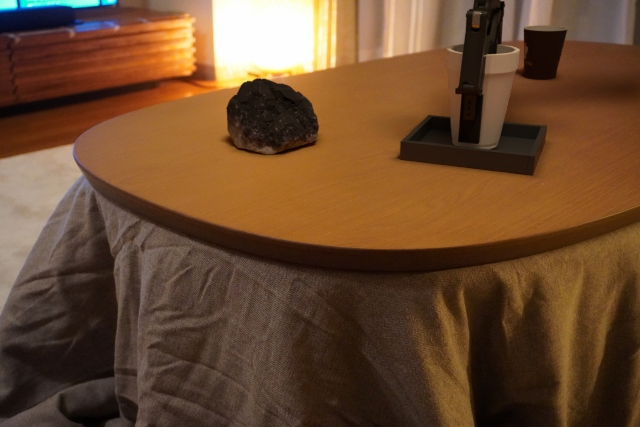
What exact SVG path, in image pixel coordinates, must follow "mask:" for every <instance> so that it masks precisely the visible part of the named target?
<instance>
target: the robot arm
mask: <svg viewBox="0 0 640 427" xmlns="http://www.w3.org/2000/svg"><path fill="white" fill-rule="evenodd" d="M472 5H473V6H472V8H469V9H468V10H467V11H466V13H465V31H464V40H463V44H464V47H463V55H462V64H461V72H460V80H459V86H458V88H455V94H461V108H460V121H459V135H458V142H463V143H472V144H479V142H480V130H481V119H482V108H483V96H484V94H482V92H483V89H482V88H483V82H484V76H485V64H486V56H485V57H484V55H487V54H497V45H498V44H500V45H503V44H502V43H503V42H502V40H503V27H504V26H503V25H504V17H505V8H506V1H505V0H473V4H472ZM468 82H473V83H475V84H470V83H468Z"/></svg>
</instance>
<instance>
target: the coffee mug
mask: <svg viewBox="0 0 640 427" xmlns="http://www.w3.org/2000/svg"><path fill="white" fill-rule="evenodd" d="M567 33H568V27H566V26H560V25H547V24H546V25H545V24H544V25H543V24H542V25H541V24H540V25H527V26H523V77H524V78H526V79H531V80H540V81H544V80H545V81H547V80H548V81H549V80H554V79H555V78H556V76H557V73H558V69H559V65H560V61H561V57H562V53H563V48H564V45H565V40H566V37H567Z"/></svg>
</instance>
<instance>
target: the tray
mask: <svg viewBox="0 0 640 427" xmlns="http://www.w3.org/2000/svg"><path fill="white" fill-rule="evenodd" d="M547 133H548V124H547V125H546V124H537V123H536V124H533V123H524V122H514V121H513V122H511V121H504V123H503V127H502V131H501V135H500V139H499V141H498V145H497V146H496V147H494V148H491V149H483V148H474V147H464V146H456V145H454V144H453V142H452V134H451V119H450V116H446V115H445V116H444V115H434V114H427V115H426V117H425V118H424V119H422V120H421V122H419V123H418V124H417V125H416V126H415V127H414V128H413V129H412V130H411V131H410V132H409V133H407V135H405V137H403V138H402V139H401V140H400V141H399V142H400V144H399V145H400V146H399V147H400V148H399V160H402V161H411V162H418V163H419V162H420V163H428V164H436V165H443V166H453V167H461V168H470V169H478V170H485V171H486V170H487V171H494V172H503V173H509V174H510V173H511V174H520V175H526V176H527V175H528V176H533V175H535V174H534V173H535V171H536V168H537V166H538V163H539V160H540V157H541V155H542V152H543V150H544V147H545V144H546V141H547V140H546V139H547Z"/></svg>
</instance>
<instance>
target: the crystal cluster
mask: <svg viewBox="0 0 640 427" xmlns="http://www.w3.org/2000/svg"><path fill="white" fill-rule="evenodd" d="M225 109H226V121H227V122H226V123H227V125H226V126H227V132H228V134H229V137H230V138H231V139H232V141H233V145H234V146H236V148H238V149H246V150H248V151H250V152H251V151H252V152H255V153H260V154H265V155H274V154H277V153H280V152H283V151H286V150H290V149H292V148H297V147H299V146H304V145H307V144H311V143H313V142H315V141H316V140H318V136H319V135H318V133H319V129H320V125H319V120H318V115H317V114H316V113H315V111H314V107H313V103H312V102H311V100H309V99H308V97H307V96H305V95H304V94H303V93H302V92H301V91H299V90H298V91H296V90H295V89H294V88H293V87H292V86H291V85H288V84H285V83H283V82H282V83H278V82H275V81H273V80H271V79H267V78H261V77H259V78H258V77H256V78H254V79H253V80H247V81H244V82H242V83H241V84H240V86H239V88H238V90H237V91H236V94H234V95H233V96H232V97H231V98H230V99H229V100H228V102H227V106H226V108H225Z"/></svg>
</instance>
